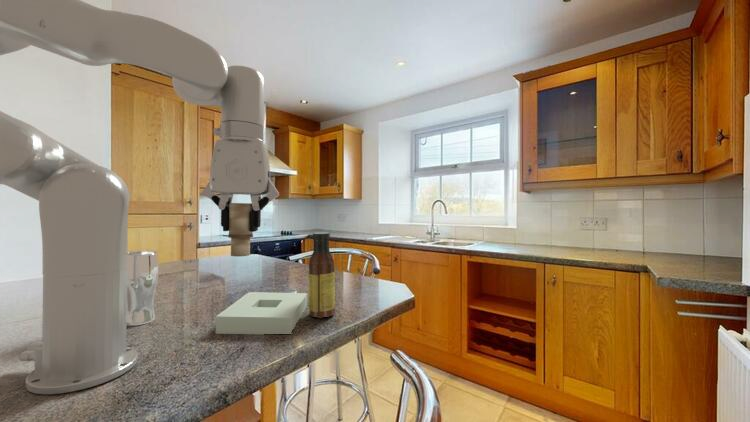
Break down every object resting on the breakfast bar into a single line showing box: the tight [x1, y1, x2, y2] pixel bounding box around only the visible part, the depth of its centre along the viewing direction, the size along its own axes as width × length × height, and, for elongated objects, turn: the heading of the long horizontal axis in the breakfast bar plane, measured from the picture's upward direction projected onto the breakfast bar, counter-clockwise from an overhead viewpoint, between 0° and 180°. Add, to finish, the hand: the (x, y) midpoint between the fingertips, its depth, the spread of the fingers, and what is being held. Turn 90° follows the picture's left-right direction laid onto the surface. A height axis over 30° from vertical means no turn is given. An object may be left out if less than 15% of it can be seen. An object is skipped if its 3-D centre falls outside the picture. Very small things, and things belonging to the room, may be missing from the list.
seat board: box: [215, 291, 308, 335], centre depth 73 cm, size 15×18×4 cm
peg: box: [227, 202, 254, 257], centre depth 61 cm, size 4×4×10 cm
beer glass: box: [126, 250, 159, 327], centre depth 69 cm, size 7×7×15 cm
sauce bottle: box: [308, 231, 336, 319], centre depth 76 cm, size 6×6×20 cm
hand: (240, 229), depth 61 cm, fingers closed on peg, 4 cm apart
